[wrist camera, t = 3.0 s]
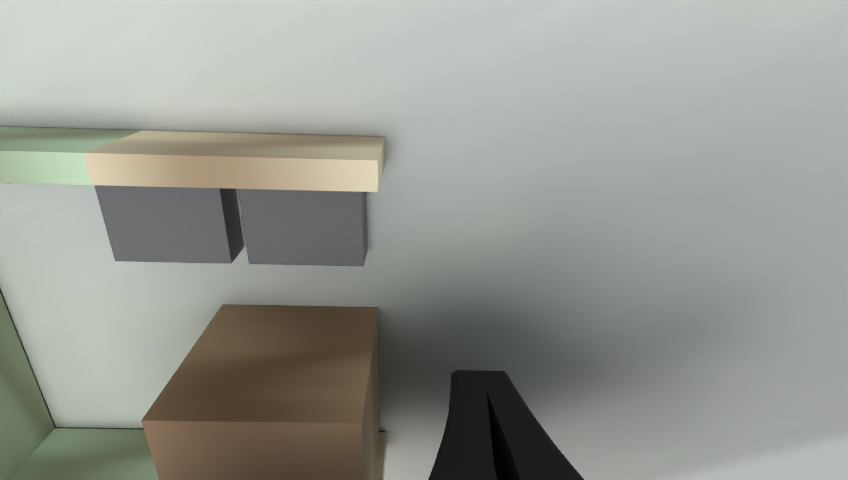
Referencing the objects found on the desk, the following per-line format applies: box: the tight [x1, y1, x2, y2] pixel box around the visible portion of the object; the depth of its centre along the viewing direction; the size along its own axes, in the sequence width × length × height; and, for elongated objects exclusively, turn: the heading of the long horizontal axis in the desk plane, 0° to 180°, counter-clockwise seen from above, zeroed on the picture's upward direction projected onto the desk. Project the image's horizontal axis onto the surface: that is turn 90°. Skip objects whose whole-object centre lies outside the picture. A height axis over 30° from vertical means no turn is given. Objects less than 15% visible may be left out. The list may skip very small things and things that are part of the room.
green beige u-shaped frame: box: [0, 126, 386, 480], centre depth 11 cm, size 10×9×2 cm
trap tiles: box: [95, 185, 367, 266], centre depth 11 cm, size 6×2×1 cm, turn 88°
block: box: [142, 304, 380, 480], centre depth 11 cm, size 4×4×4 cm
